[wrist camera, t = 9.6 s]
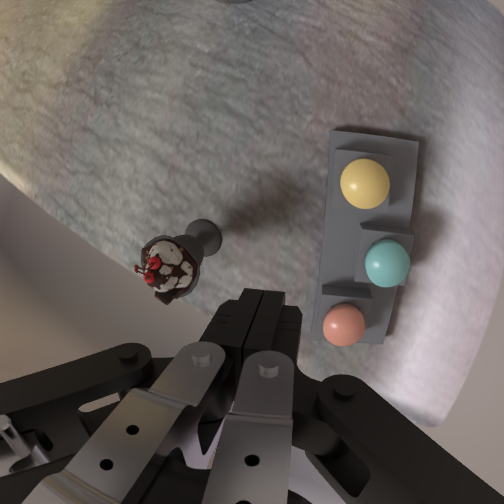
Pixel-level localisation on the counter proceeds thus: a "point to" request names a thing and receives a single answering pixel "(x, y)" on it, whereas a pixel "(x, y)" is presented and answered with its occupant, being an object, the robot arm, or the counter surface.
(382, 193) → the button ochre
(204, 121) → the counter surface
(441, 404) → the counter surface
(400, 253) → the button teal
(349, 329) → the salmon orange dome button
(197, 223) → the sundae
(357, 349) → the counter surface
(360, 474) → the robot arm
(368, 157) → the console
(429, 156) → the counter surface
